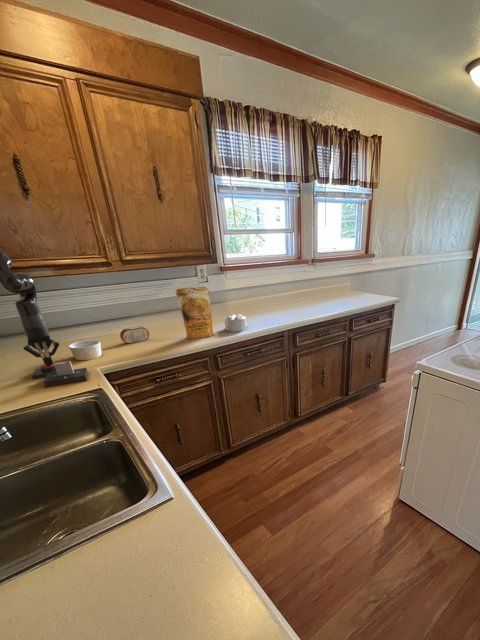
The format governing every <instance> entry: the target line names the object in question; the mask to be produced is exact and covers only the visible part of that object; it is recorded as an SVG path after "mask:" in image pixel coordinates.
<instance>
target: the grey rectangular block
mask: <svg viewBox="0 0 480 640" xmlns="http://www.w3.org/2000/svg"><path fill="white" fill-rule="evenodd" d="M53 363H54V366H55V369H56V372H57V375H58V376H62V375H68V374H74V368H73V365H72V362H71V360H66V361H60V362H53Z"/></svg>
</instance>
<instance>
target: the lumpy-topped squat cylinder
mask: <svg viewBox="0 0 480 640" xmlns="http://www.w3.org/2000/svg"><path fill="white" fill-rule="evenodd" d="M246 318H247V317H246V316H244V315H242V314H236V315H235V314H233V313H232V314H231V315H227V316H226V317H224V327H225V330H226V331H227V332H229V333H232V332H233V333H234V332H241V331H245V330H246V329H247V319H246Z"/></svg>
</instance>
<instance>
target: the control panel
mask: <svg viewBox="0 0 480 640" xmlns="http://www.w3.org/2000/svg"><path fill="white" fill-rule="evenodd" d="M73 370H74V374H68V375H62V376H58V375H57V372H53V373H48V374H47V376H46V378H44V381H43V383H44V385H45V389H46V388H53V387H59V386H65V385H71V384H78V383H83V382H87V381H88V377H89V370H88V368H87V367H80V368H73Z"/></svg>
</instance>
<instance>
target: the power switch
mask: <svg viewBox="0 0 480 640" xmlns="http://www.w3.org/2000/svg"><path fill="white" fill-rule="evenodd" d="M54 363H55V362H53V364H54ZM44 366H45V364H42V365H41V366H39V367H38V368H35V370H34V371H33V373H32V375H31V377H32V380H39V379H45V378H46V376H47V374H48V373H53V372H56V369H55V366H52V367H47V368H46V367H44Z"/></svg>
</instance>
